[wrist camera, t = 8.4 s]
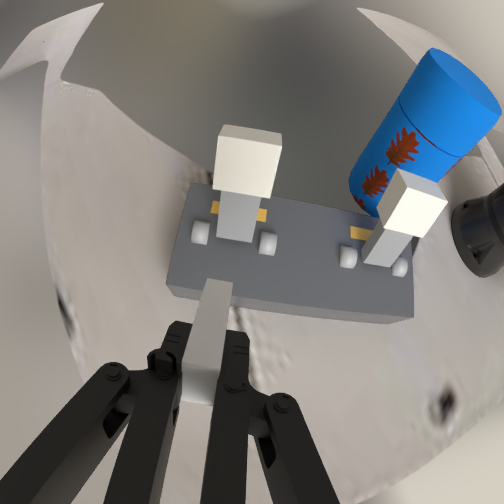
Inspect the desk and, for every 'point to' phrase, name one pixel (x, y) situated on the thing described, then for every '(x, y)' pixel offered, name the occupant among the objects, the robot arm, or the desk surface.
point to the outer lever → (244, 177)
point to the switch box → (291, 261)
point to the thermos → (425, 127)
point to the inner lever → (402, 216)
